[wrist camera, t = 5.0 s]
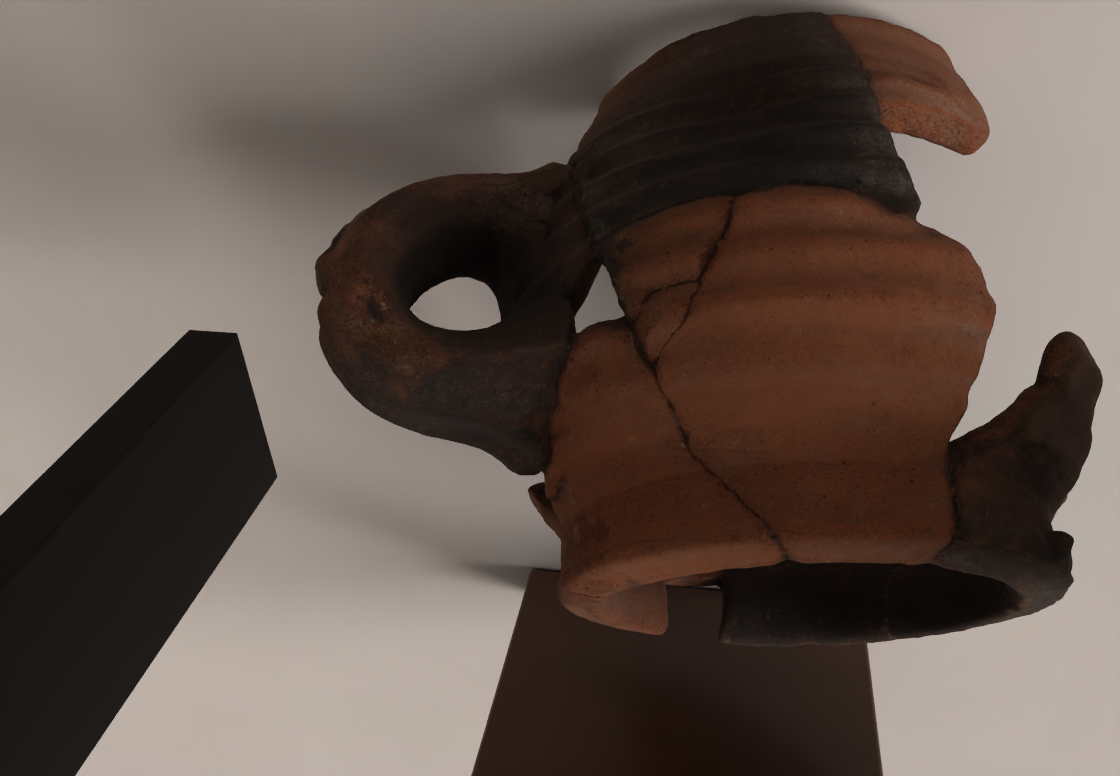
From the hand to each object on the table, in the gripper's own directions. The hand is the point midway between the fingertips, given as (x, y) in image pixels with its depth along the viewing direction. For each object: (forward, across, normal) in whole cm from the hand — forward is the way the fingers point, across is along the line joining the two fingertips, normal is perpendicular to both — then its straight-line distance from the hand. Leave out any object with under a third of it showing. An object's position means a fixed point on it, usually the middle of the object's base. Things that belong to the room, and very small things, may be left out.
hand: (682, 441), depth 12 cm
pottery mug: (+5, 0, 0) cm, 5 cm away
